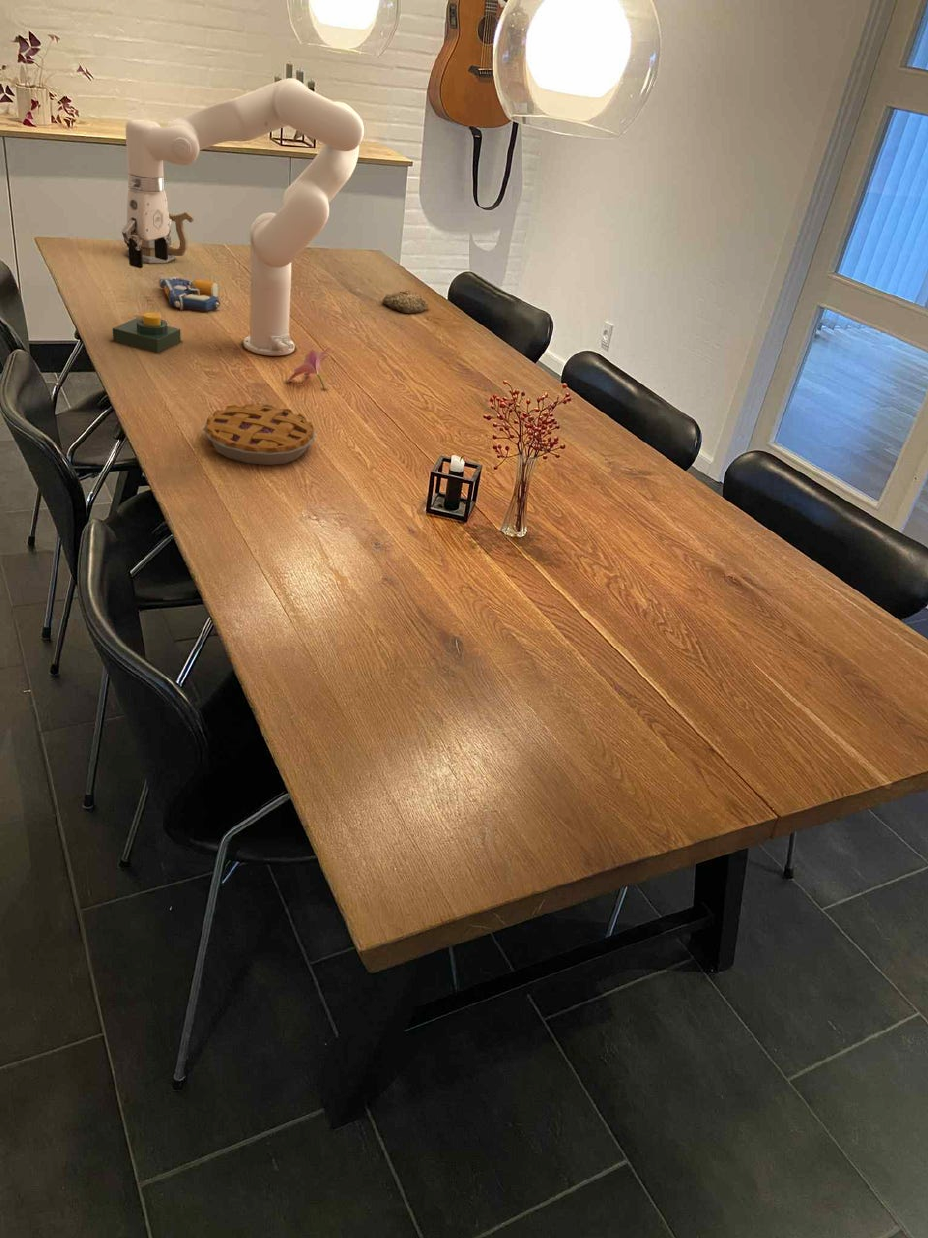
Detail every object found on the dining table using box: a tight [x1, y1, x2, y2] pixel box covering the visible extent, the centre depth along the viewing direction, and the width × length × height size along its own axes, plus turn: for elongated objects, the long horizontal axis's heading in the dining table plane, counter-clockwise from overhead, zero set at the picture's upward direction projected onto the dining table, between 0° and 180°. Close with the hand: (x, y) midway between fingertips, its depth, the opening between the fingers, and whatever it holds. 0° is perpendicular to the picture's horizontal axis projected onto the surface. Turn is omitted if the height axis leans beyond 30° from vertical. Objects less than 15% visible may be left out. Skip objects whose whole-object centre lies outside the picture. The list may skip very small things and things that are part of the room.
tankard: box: [126, 211, 195, 264], centre depth 276 cm, size 20×13×15 cm, turn 81°
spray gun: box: [158, 275, 221, 312], centre depth 253 cm, size 21×4×15 cm
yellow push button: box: [142, 312, 162, 326], centre depth 221 cm, size 4×4×2 cm
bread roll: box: [382, 290, 429, 314], centre depth 276 cm, size 13×12×5 cm
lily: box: [286, 346, 332, 390], centre depth 215 cm, size 12×12×10 cm
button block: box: [112, 317, 182, 354], centre depth 223 cm, size 12×10×5 cm
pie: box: [203, 403, 316, 466], centre depth 186 cm, size 22×22×5 cm
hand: (149, 262), depth 214 cm, fingers open, 9 cm apart
